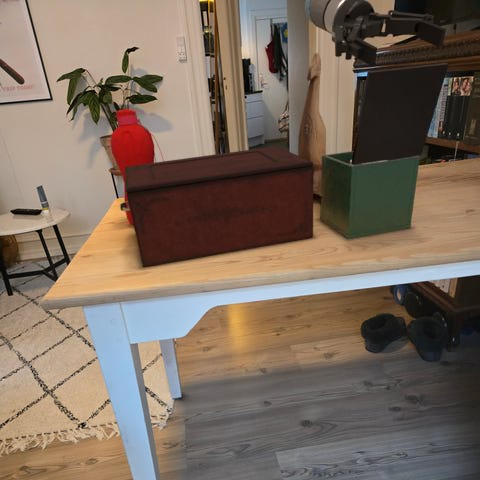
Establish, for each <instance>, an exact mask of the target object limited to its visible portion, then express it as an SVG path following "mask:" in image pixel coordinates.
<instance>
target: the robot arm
mask: <svg viewBox="0 0 480 480" xmlns="http://www.w3.org/2000/svg"><path fill="white" fill-rule="evenodd" d="M304 12H305V16H306V18H307V19H308V21H309V22H311V23H312V24H313V25H314V26H315V27H316V28H318V29H321V30H322V31H325V32H327V33H329V34H331V41H332V42H333V44H334V56H335V57H337V58H339V57H343V54H345V55H344V57H345V58H344V59H345V61H350V60H353V59H352V58H353V57H354V58H357V59H359V61H362V62H364V63H365V64H367V65H368V66H370V67H374V66H376V61H377V52H378V47H376V46H375V45H373V44H371V43H370V42H367V41H366V39H374V38H375V37H377V38H386V37H388V36H389V35H398V36H401V35H402V36H417V37H416V38H417V39H419V40H421V41H423V42H426V43H428V44H430V45H432V46H435V47H437V48H441V47H443V45H444V41H445V36H446V32H447V28H445V27H443V26H440V25H439V24H435V23H434V19H435V18H434V17H435V16H434V15H432V14H429V13H425V14H421V13H411V12H401V11H397V10H393V9H390V10H388V11H387V13H384V14H382V13H381V14H380V13H379V12H376V11H375V9H374V6H373V5H372V4H371V2H369V1H368V0H305V2H304ZM384 25H385V26H384ZM383 28H384V31H383Z"/></svg>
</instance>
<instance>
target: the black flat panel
mask: <svg viewBox="0 0 480 480" xmlns="http://www.w3.org/2000/svg"><path fill="white" fill-rule="evenodd" d="M449 65H450V64H449V63H447V62H443V63H435V64H433V63H432V64H424V65H423V64H422V65H415V66H414V65H413V66H404V67H397V68H395V67H394V68H387V69H378V70H377V69H376V70H369V71H367V72H366V79H365V84H364V90H363V96H362V101H361V106H360V113H359V118H358V123H357V129H356V135H355V140H354V146H353V150H352V151H353V156H352V162H351V163H352V164H353V165H357V164H364V163H371V162H377V161H384V160H391V159H398V158H405V157H412V156H418V157H419V156H422V155H423V152H424V148H425V144H426V141H427V138H428V135H429V131H430V128H431V125H432V121H433V118H434V115H435V111H436V108H437V105H438V101H439V98H440V95H441V92H442V88H443V85H444V82H445V79H446V76H447V72H448V70H449V69H448V68H449Z"/></svg>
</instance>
